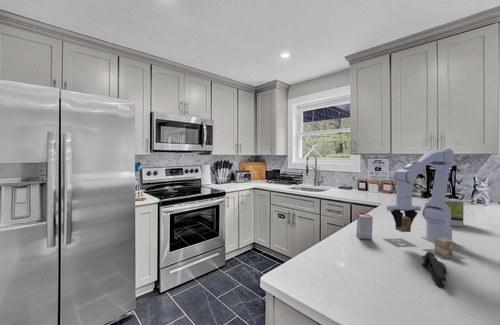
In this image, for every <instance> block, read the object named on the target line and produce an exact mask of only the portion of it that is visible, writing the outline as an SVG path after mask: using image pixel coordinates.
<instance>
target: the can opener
mask: <svg viewBox="0 0 500 325" xmlns="http://www.w3.org/2000/svg"><path fill="white" fill-rule="evenodd" d="M421 259H422V264H421V265H422V266H423V267H424V268H426V270H429V273H430V276H431V278H432V280H433V282H434V284H435V285H436V286H437V287H438V288H442V289H443V288H445V284H444V282H445V281H447V277H446V276H447V275H446V274H447V267H446V265H445V264H444V263H443V262H442V261H439V260H438V257H436V256H434V255H433V254H432V253H431V252H426V253H425V254H422V255H421Z"/></svg>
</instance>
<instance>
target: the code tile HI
mask: <svg viewBox="0 0 500 325" xmlns="http://www.w3.org/2000/svg"><path fill="white" fill-rule="evenodd" d="M422 251H424V252H426V253H428V252H431V253H432V254H433V255H434V256H435V257H436V258H437V259H440V260H442V261H445V260H446V261H448V260H449V261H450V260H451V261H453V260H466V257H463V256H462V255H458V254H457V253H454V252H452V256H442V255H440V254H437V253H435V248H425V249H423V248H422Z"/></svg>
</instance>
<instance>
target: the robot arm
mask: <svg viewBox="0 0 500 325" xmlns="http://www.w3.org/2000/svg"><path fill="white" fill-rule="evenodd" d="M454 162H455V153H454V151H453V149H451V148H438V149H437V148H435V149H432V148H428V149H426V150H425V151H424V152H423V155H422V156H421V157H420V158H419V159H418V160H411V161H410V163H408V164H407V165H406V166H404V167H403V168H402V169H401V168H400V169H397V170H395V172H394V175H393V180H394V182H395V186H396V192H395V193H396V202H395V204H393V205H386V211H388V212H390V213H391V215H392V217H393V220H394V222H395V227H396V226H397V227H401V220H402V216H406V217H409V218H411V225H412V224H413V221H414V219H415V218H416V217H417V215H418V212H421V216H422V218H424V221H426V222H425V223H426V227H425V229H426V230H425V235H421V238H423V239H424V240H428V241H430V242H432V243H434V244H435V238H445V239H448V240H451V241H453V226H452V225H450V224H449V223H448V222H450V220H451V208H450V207H449V206H448V205H447V204H445V199H446V197H447V196H446V194H447V190H448V189H447V188H448V183H449V176H450V170H451V168H453V165H454ZM428 165H430V167H433V168H434V169H435V173H434V179H433V185H432V190H431V197H430V198H431V201H429V200H428V201H427V202H425V203H424V206H423V208H422V206H419V205H413V183H415V182H416V179H417V177H418V175H420V174H421V173H422V172H423V171H424V170H425V167H426V166H428ZM433 207H438V208H442V209H438V208H433ZM401 211H403V212H401Z"/></svg>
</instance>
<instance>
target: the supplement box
mask: <svg viewBox="0 0 500 325" xmlns="http://www.w3.org/2000/svg"><path fill="white" fill-rule="evenodd" d="M356 214H357V215H356V217H357V218H356V237H357V239H359V240H361V241H363V240H364V241H372V240H373V224H374V222H373V219H374V218H373V217H374V216H372V215H371V214H368V213H367V214H366V213H356Z"/></svg>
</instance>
